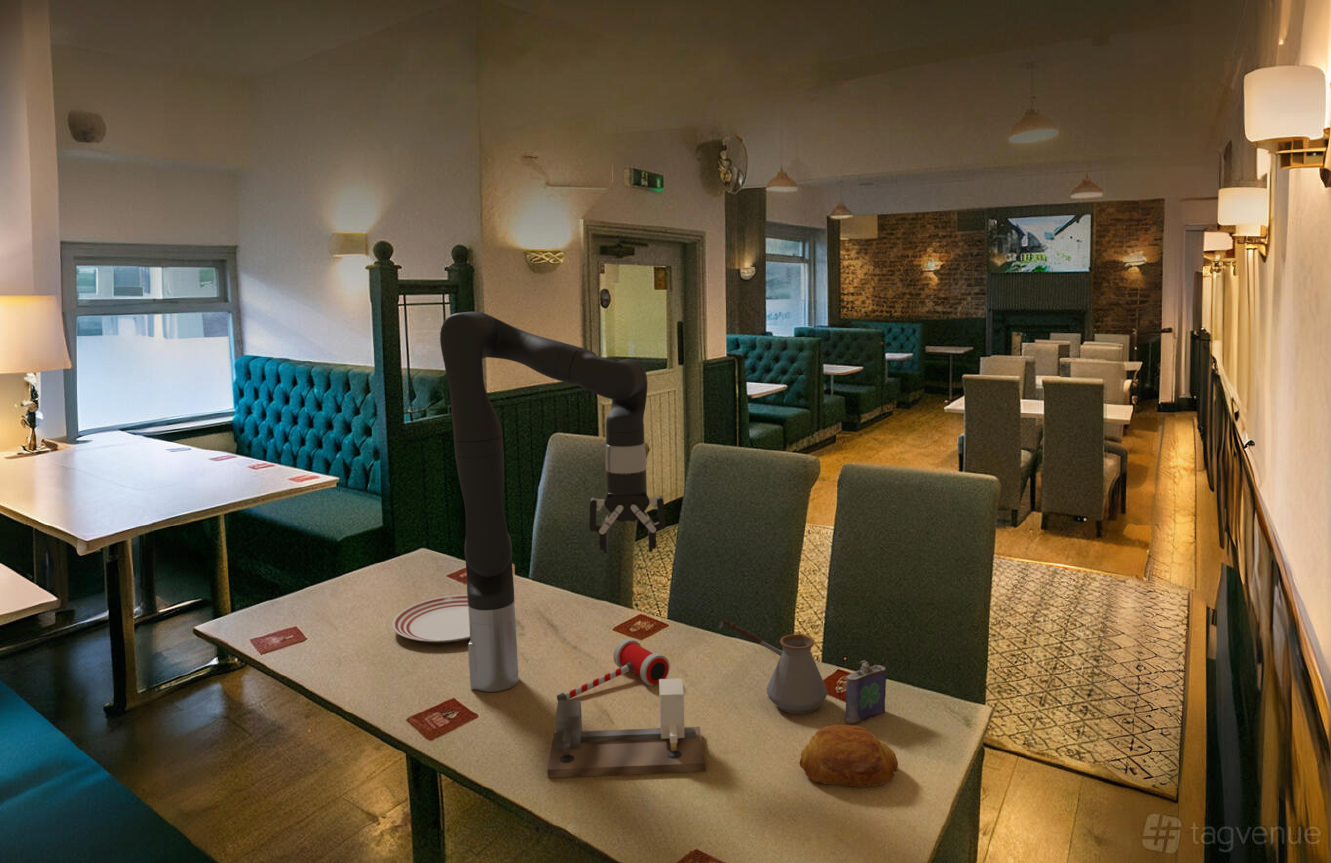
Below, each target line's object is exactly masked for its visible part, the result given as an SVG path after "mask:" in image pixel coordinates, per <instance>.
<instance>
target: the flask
mask: <svg viewBox="0 0 1331 863" xmlns="http://www.w3.org/2000/svg"><path fill="white" fill-rule="evenodd" d="M858 664H859V665H860V664H861V667H860V669H858V670H856V671H854V672H852V673H850V674H848V675H846V676H845V682H846V683H845V684H846V685H845V716H844V717H845V718H844V719H845V720H844V721H845V723H846V724H847V725H850V726H853V725H854V726H857V725H860V723H863V722H867V721H870V720H871V719H872V718H873V719H875V718H876V717H880V716H884V715H885V713H886V696H887V694H886V692H887V690H886V687H887V671H888V670H887V668H886V666H883V665H880V664H878V665H877V664H874V665H873V666H870V664H869V663H868V661H866V660H865V659H864V660H861V661H860V662H859V663H858Z"/></svg>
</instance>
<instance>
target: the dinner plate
mask: <svg viewBox="0 0 1331 863" xmlns="http://www.w3.org/2000/svg"><path fill="white" fill-rule="evenodd" d="M391 627H392V629H393V631H394V632H395V633H396V634H398V635H399V636H400V637H403V638H405V639H408V640H413V641H419V642H424V643H425V642H427V643H452V641H453V642H459V640H460V641H464V640H470V628H469V611H468V597H467V594H454V595H447V596H439V597H436V598H435V597H434V598H430V599H427V600H426V599H425V600H424V601H420V602H418V603H415V604H412V605H409V607H406V608H405V609H402V611H400V612H399V613H398V614H396V616H395V617H394V618H393V620H392V624H391Z"/></svg>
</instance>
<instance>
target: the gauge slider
mask: <svg viewBox="0 0 1331 863" xmlns="http://www.w3.org/2000/svg"><path fill="white" fill-rule="evenodd" d="M658 686H659V687H658V689H659V692H658V694H659V698H658V699H659V724H660V727H659V728H661V739H667V738H670V743H671V751H676V750H677V738H685V737H684V727H685V699H684V698H685V697H684V696H685V694H684V684H683V680H682V678H666V679H659V684H658Z"/></svg>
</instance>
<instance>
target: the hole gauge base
mask: <svg viewBox="0 0 1331 863" xmlns="http://www.w3.org/2000/svg"><path fill="white" fill-rule="evenodd" d="M554 715H555V716H554V719H555V721H554V722H555V723H554V724H555V731H554V732H553V734H552V735H553V736H552V741H551V747H550V753H549V760H548V764H547V771H546V772H547V779H551V778H552V779H553V778H554V779H555V778H556V779H557V778H578V777H601V776H602V777H604V776H625V775H626V776H629V775H649V774H650V775H652V774H673V773H674V774H679V773H698V772H699V773H700V772H701V773H702V772H703V773H704V772H706V766H707V765H706V759H705V752H704V747H703V745H704V744H703V739H702V735H701V734H702V733H701V728H700V727H701V726H684V737H685V738H677V750H676V751H671V743H670V738H667V739H661V728H660V727H654V728H653V727H652V728H632V729H631V728H630V729H627V728H626V729H607V730H605V729H604V730H583V727H582V726H583V725H582V721H583V720H582V700H581V699H568V700H561V701H558V700H557V705H556V710H555V714H554Z"/></svg>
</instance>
